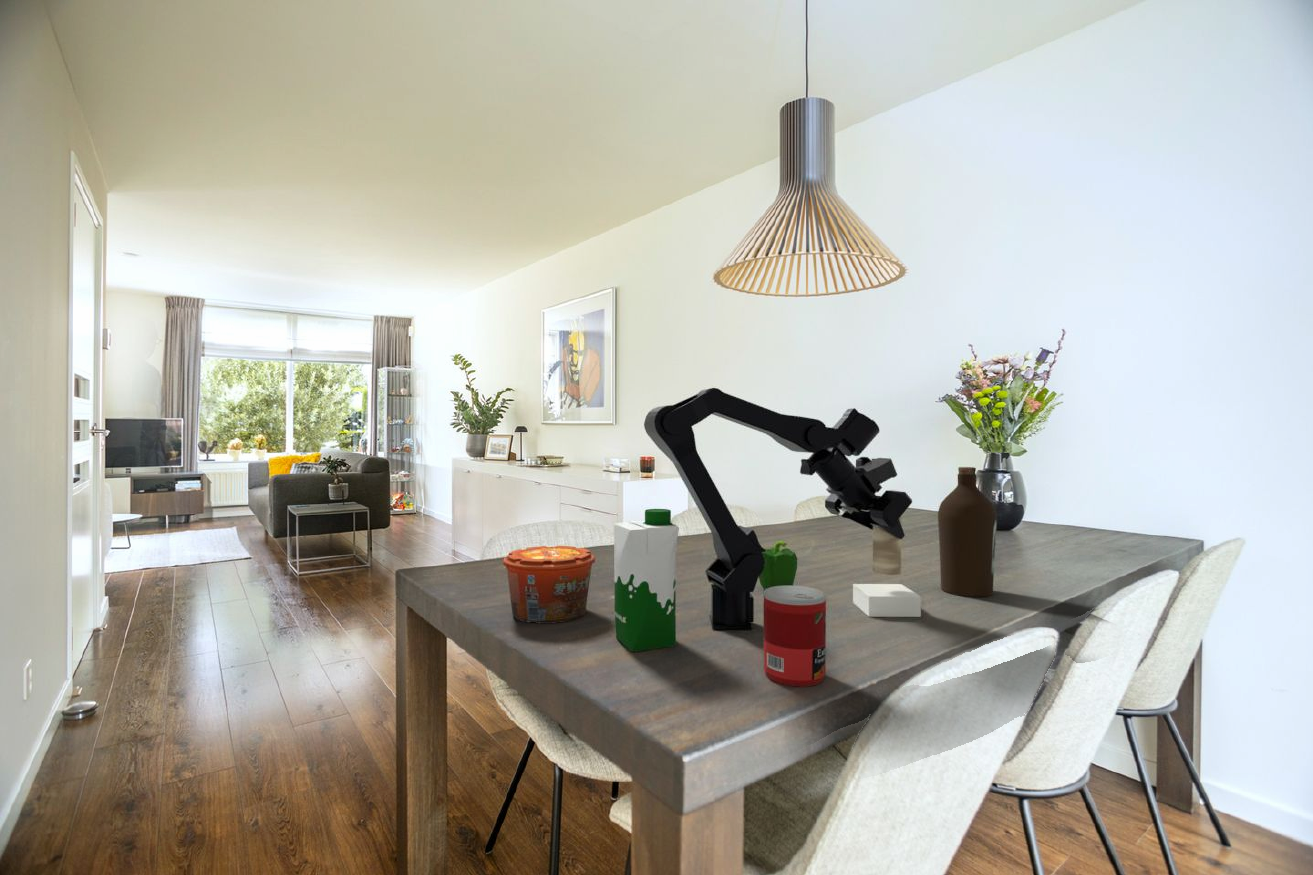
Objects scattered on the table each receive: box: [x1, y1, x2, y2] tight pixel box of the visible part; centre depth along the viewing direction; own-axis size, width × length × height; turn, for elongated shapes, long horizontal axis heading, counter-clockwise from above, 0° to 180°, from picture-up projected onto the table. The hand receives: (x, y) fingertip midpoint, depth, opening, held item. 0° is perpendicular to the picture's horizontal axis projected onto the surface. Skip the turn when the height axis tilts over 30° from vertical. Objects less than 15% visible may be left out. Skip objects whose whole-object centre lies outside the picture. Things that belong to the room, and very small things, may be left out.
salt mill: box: [872, 516, 902, 576], centre depth 112 cm, size 5×5×13 cm
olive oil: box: [937, 466, 998, 598], centre depth 125 cm, size 11×11×25 cm
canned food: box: [763, 585, 827, 688], centre depth 82 cm, size 8×8×11 cm
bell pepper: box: [758, 540, 798, 590], centre depth 128 cm, size 8×8×10 cm
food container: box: [502, 545, 596, 624], centre depth 110 cm, size 16×16×11 cm
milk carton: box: [613, 508, 680, 653], centre depth 95 cm, size 9×9×20 cm
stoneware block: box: [852, 583, 922, 618], centre depth 112 cm, size 9×9×4 cm
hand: (893, 535), depth 112 cm, fingers closed on salt mill, 5 cm apart
